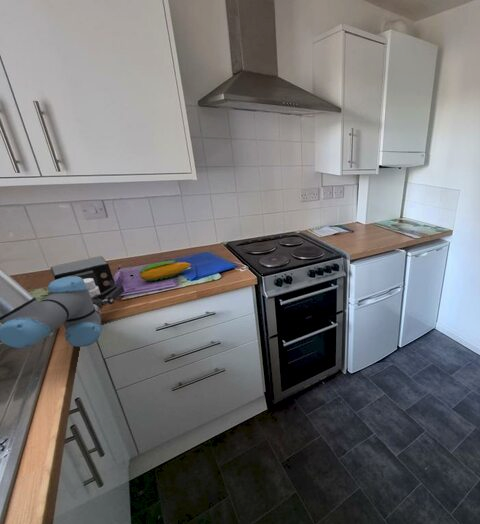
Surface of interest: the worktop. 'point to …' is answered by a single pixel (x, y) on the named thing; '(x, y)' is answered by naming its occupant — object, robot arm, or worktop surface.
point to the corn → (162, 270)
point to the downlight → (91, 287)
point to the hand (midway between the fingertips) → (89, 287)
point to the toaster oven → (86, 271)
